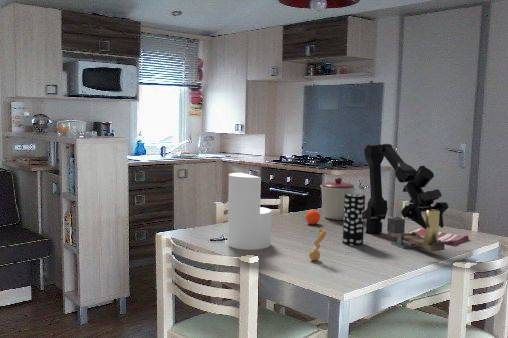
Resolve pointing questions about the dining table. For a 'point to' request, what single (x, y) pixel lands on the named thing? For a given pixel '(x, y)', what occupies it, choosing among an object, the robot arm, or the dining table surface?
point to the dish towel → (442, 237)
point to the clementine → (312, 217)
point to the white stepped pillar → (247, 214)
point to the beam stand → (404, 242)
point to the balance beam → (398, 226)
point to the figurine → (315, 253)
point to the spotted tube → (353, 219)
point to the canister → (335, 198)
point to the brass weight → (431, 226)
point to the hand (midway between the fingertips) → (434, 227)
